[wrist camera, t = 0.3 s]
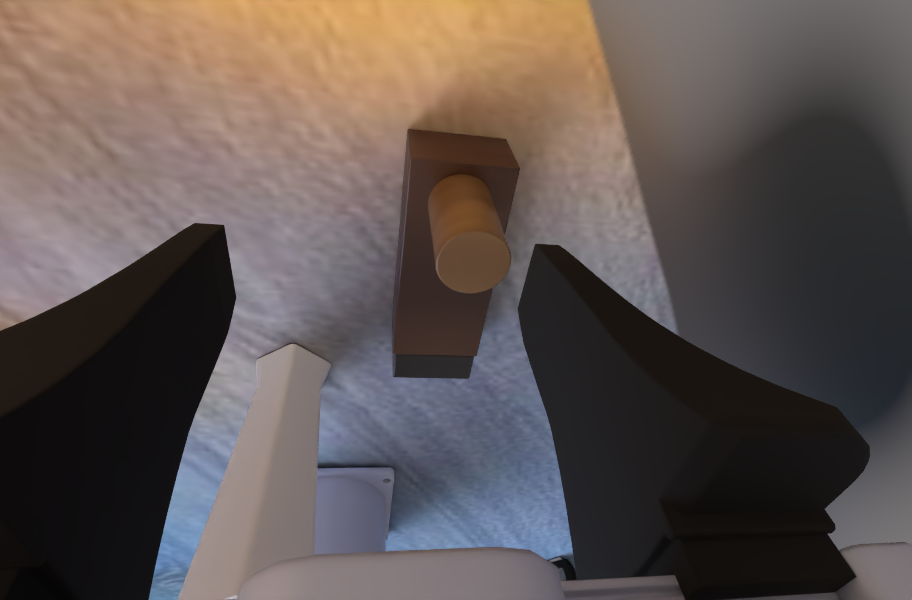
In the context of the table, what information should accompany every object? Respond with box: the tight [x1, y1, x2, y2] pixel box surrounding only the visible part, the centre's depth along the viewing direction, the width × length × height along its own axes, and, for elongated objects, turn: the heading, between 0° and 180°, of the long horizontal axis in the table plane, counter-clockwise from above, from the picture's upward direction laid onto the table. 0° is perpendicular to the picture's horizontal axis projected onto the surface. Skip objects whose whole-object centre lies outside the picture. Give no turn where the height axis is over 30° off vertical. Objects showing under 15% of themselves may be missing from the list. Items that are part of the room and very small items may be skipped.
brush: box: [392, 129, 520, 379], centre depth 21 cm, size 11×4×7 cm, turn 172°
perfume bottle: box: [178, 344, 331, 600], centre depth 21 cm, size 5×4×15 cm
